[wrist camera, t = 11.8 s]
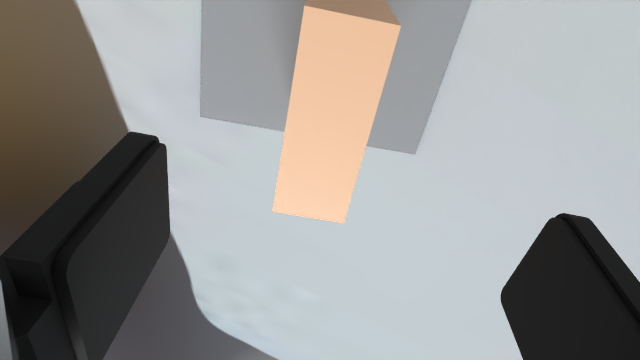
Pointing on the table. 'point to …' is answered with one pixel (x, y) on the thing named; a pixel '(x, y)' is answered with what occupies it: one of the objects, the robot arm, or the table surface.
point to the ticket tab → (333, 104)
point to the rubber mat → (280, 56)
